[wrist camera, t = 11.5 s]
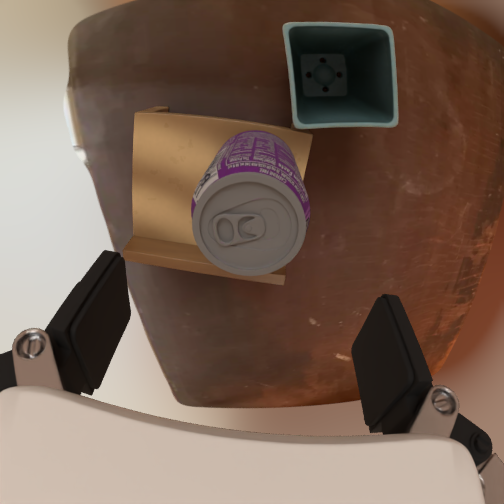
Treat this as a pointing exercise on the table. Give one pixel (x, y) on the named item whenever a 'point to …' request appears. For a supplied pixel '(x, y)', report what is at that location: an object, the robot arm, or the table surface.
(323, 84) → the flower pot
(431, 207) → the table surface
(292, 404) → the table surface
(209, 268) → the wooden block with backrest
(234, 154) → the beverage can
